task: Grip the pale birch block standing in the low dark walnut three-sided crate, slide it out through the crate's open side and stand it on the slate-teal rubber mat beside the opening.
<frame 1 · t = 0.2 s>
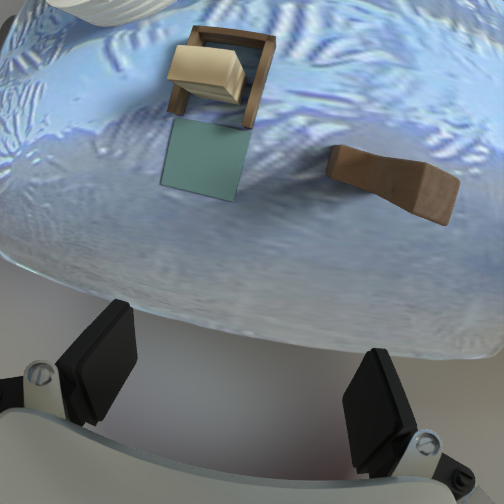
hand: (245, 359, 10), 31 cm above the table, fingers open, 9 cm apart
birch block: (213, 77, 28), in the crate
crate: (222, 87, 33), on the table
wooden block: (358, 168, 36), on the table
mat: (204, 158, 37), on the table
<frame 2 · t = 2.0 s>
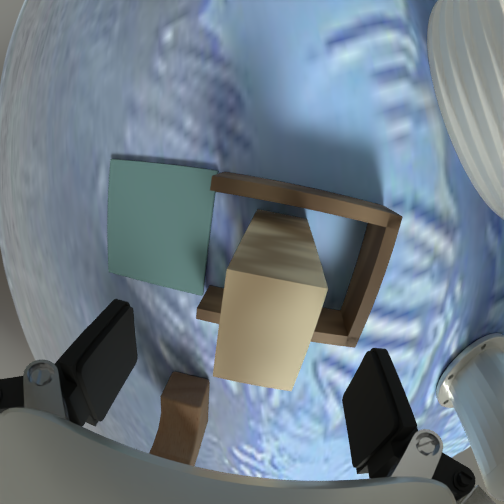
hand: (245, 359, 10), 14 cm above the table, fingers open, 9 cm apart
birch block: (271, 280, 17), in the crate
crate: (275, 249, 23), on the table
wooden block: (192, 396, 31), on the table
mat: (155, 226, 23), on the table
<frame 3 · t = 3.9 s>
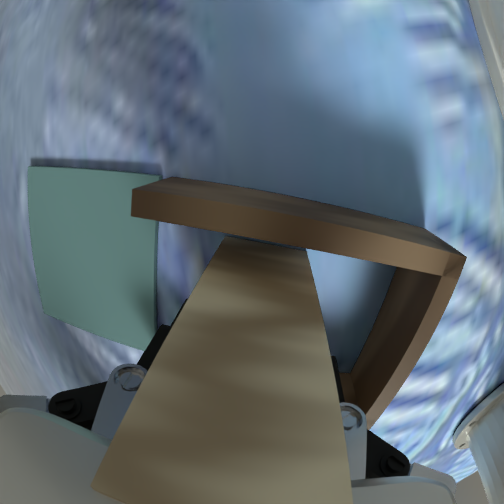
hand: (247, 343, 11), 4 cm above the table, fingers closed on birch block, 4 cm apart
birch block: (241, 380, 9), in the crate, touching gripper
crate: (255, 297, 15), on the table
mat: (85, 259, 15), on the table
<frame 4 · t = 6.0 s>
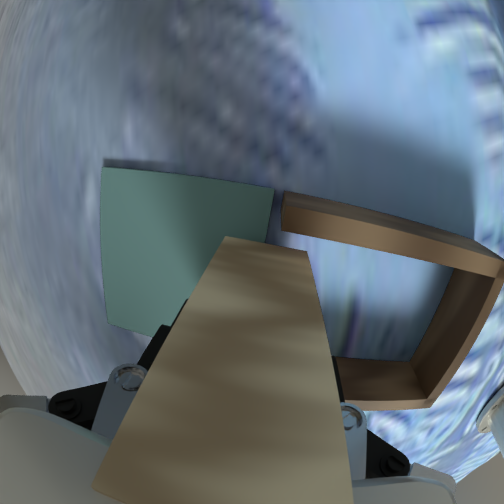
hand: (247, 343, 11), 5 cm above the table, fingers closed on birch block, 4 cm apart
birch block: (241, 380, 9), point 8 cm above the table, touching gripper
crate: (347, 299, 16), on the table
mat: (173, 267, 16), on the table
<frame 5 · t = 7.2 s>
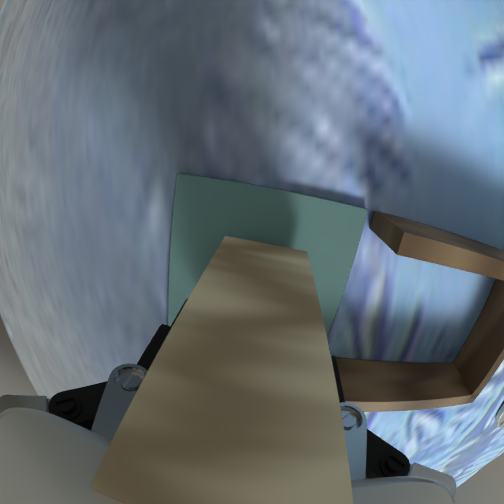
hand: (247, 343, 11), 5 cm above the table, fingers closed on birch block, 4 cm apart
birch block: (241, 380, 9), point 8 cm above the table, touching gripper
crate: (413, 309, 16), on the table
mat: (255, 284, 16), on the table
when the fingers open (5 cm above the table, at t = 8.2 s): birch block stays where it is, resting on mat.
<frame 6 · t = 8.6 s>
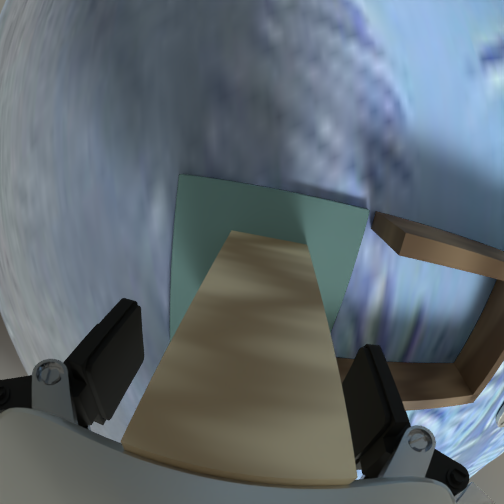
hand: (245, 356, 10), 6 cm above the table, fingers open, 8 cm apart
birch block: (248, 361, 10), on the mat
crate: (414, 310, 16), on the table
mat: (257, 284, 16), on the table
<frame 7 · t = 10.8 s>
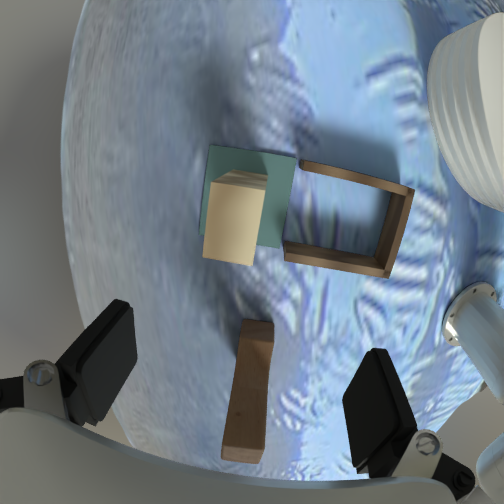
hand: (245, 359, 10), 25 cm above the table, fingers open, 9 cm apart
birch block: (240, 208, 27), on the mat
crate: (332, 213, 32), on the table
plate stack: (494, 117, 25), on the table
wooden block: (254, 342, 40), on the table
mat: (245, 196, 33), on the table
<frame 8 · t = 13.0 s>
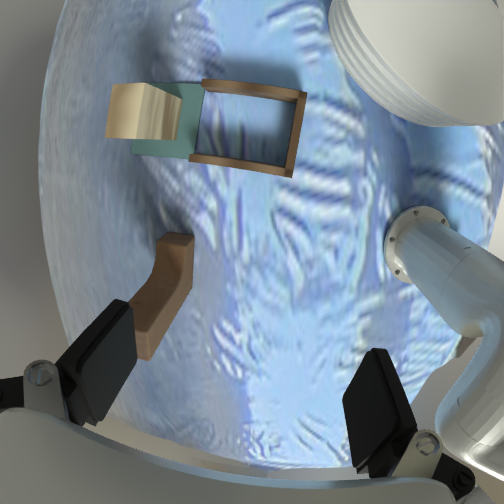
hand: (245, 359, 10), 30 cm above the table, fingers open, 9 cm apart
birch block: (148, 115, 29), on the mat
crate: (238, 126, 35), on the table
plate stack: (414, 43, 27), on the table
wooden block: (180, 260, 43), on the table
mat: (166, 119, 35), on the table
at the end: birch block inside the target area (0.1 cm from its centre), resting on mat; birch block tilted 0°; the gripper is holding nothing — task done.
